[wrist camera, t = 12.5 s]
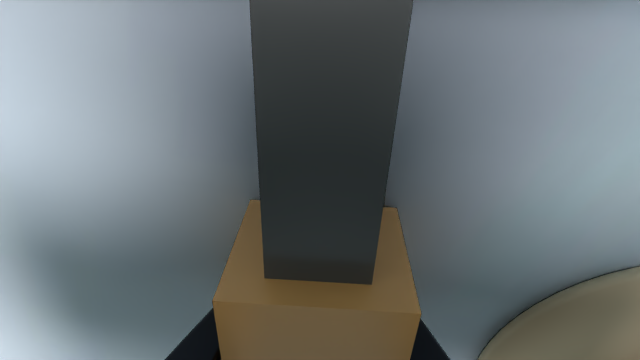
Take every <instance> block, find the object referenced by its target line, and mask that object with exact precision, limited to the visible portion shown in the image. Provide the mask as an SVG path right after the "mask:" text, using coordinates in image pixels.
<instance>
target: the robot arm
mask: <svg viewBox="0 0 640 360" xmlns="http://www.w3.org/2000/svg"><path fill="white" fill-rule="evenodd" d="M165 360H221V354H220V348H219V341H218V335H217V328H216V322H215V316H214V309H213V308H212V309H211V310H210V311H209V313H208V314H207V315H206V316H205V317H204V318H203V319H202V320H201V321H200V322H199V323H198V324H197V325H196V327H195V328H194V329H193V330H192V331H191V332H190V333H189V334H188V335H187V336H186V337H185V338H184V339H183V340H182V342H181V343H180V344H179V345H178V346H177V347H176V348H175V349H174V350H173V351H172V352H171V353H170V354H169V356H168V357H167V358H166V359H165ZM410 360H450V359H449V357H448V356H447V355H446V353H445V352H444V350H443V349H442V348H441V346H440V345H439V343H438V342H437V341H436V339H435V338H434V336H433V335H432V334H431V332H430V331H429V330H428V328H427V327H426V325H425V324H424V323H423V321H422V320H421V318H420V321H419V325H418V329H417V333H416V337H415V341H414V345H413V349H412V353H411V357H410Z"/></svg>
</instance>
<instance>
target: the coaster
mask: <svg viewBox="0 0 640 360" xmlns="http://www.w3.org/2000/svg"><path fill="white" fill-rule="evenodd" d="M478 360H640V267H634V268H630V269H626V270H622V271H618V272H614V273H610V274H606V275H603V276H600V277H597V278H594V279H591V280H588V281H585V282H582V283H580V284H577V285H575V286H572V287H570V288H568V289H565V290H563V291H560V292H558V293H556V294H554V295H552V296H550V297H549V298H547V299H545V300H543V301H541V302H539V303H537V304H535V305H534V306H532V307H531V308H529V309H528V310H526V311H525V312H523V313H522V314H520V315H518V316H517V317H516V318H515V319H513V320H512V321H511V322H510V323H508V324H507V325H506V326H505V327H503V328H502V329H501V330H500V331H499V332H498V333H497V334H496V335H495V336H494V337H493V339H492V340H491V341H490V342H489V343H488V344H487V346H486V347H485V349H484V350H483V351H482V353H481V354H480V356H479V358H478Z"/></svg>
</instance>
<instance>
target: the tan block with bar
mask: <svg viewBox="0 0 640 360" xmlns="http://www.w3.org/2000/svg"><path fill="white" fill-rule="evenodd" d="M249 1H250V20H251V38H252V57H253V76H254V94H255V113H256V132H257V150H258V169H259V188H260V200H250V202H249V205H248V207H247V210H246V213H245V215H244V218H243V221H242V223H241V226H240V229H239V231H238V234H237V236H236V239H235V242H234V244H233V247H232V250H231V252H230V255H229V258H228V260H227V263H226V266H225V268H224V271H223V274H222V276H221V279H220V282H219V284H218V287H217V290H216V292H215V295H214V298H213V300H212V303H213V309H214V316H215V322H216V328H217V335H218V341H219V348H220V354H221V360H410V357H411V353H412V349H413V345H414V341H415V337H416V333H417V329H418V325H419V321H420V317H421V310H420V305H419V301H418V297H417V293H416V288H415V284H414V280H413V275H412V271H411V267H410V262H409V258H408V254H407V249H406V245H405V241H404V237H403V232H402V228H401V224H400V219H399V215H398V211H397V208H393V207H383V205H384V198H385V192H386V185H387V178H388V171H389V164H390V157H391V150H392V144H393V137H394V130H395V123H396V116H397V109H398V102H399V95H400V89H401V82H402V75H403V68H404V61H405V54H406V47H407V41H408V34H409V27H410V20H411V13H412V6H413V0H249Z"/></svg>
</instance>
